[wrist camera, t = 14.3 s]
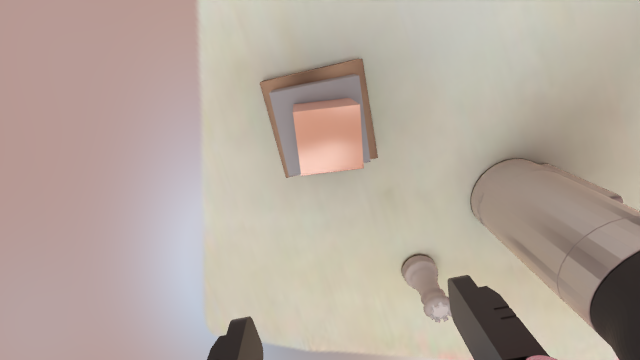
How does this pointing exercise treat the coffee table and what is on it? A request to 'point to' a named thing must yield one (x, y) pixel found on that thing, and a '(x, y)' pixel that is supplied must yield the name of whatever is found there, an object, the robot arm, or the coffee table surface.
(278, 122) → the slate top block
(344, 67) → the walnut base slab
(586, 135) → the coffee table surface
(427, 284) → the rook chess piece
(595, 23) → the coffee table surface
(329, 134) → the terracotta cube
